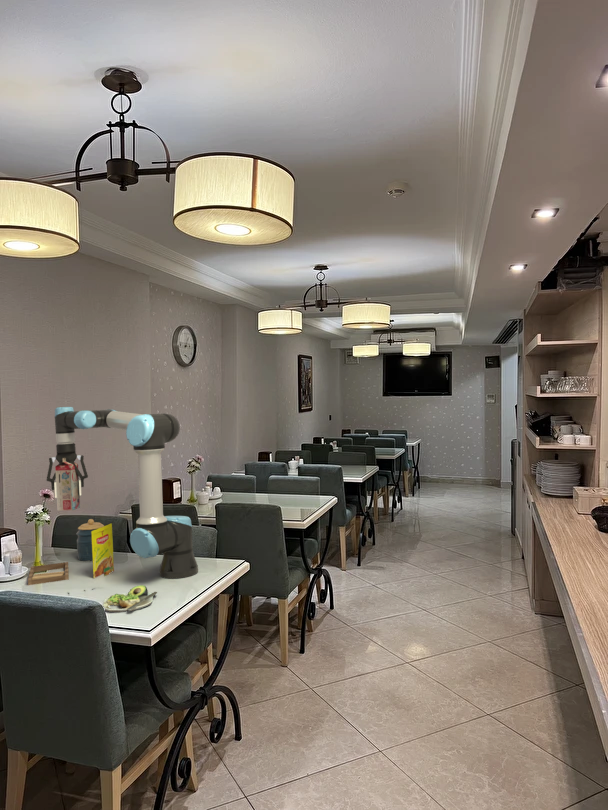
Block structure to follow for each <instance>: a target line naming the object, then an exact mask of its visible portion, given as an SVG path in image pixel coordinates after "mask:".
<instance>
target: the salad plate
mask: <svg viewBox="0 0 608 810" xmlns="http://www.w3.org/2000/svg"><path fill="white" fill-rule="evenodd" d="M157 594H158V591H153V592H151V591H149V590H148V587H147V586H146V585H143V584H141V585H137V586H134V587H132V588H131V589H129V590H128V592H126V593H115V594H113V595H109V596H107V597H106V598H105V599H104V600H103V603H102V607H103V606H104V608H105V611H106V612H108V611H109V613H124V612H126V611H127V612H134V611H136V610H140V609H143V608H146V607H148V606H151V604H152V602H153V598H154V597H155V596H156V595H157ZM109 605H110V606H111V605H114V607H121V608H111V607H110V608H109V607H108V606H109Z"/></svg>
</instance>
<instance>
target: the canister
mask: <svg viewBox="0 0 608 810" xmlns="http://www.w3.org/2000/svg"><path fill="white" fill-rule="evenodd" d="M104 526H105V525H104V524H102V523H101V522H99V521H98V522H97V521H94V519H93V518H90V519H88V521H87V523H83V524H81V525H80V526H78V527H77V530H78V531H77V532H76V534H75V535H76V536H77V539H76V550H77V552H76V553H77V554H76V557H77V559H78V560H79V561H83V562H84V561H85V562H86V561H87V562H88V561H93V555H92V532H91V531H93V530H96V529H99V528H101V527H104Z"/></svg>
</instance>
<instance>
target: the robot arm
mask: <svg viewBox="0 0 608 810" xmlns="http://www.w3.org/2000/svg"><path fill="white" fill-rule="evenodd" d="M54 425H55V443H56V446H55V447H56V456H53V457H51V456H50V457H48V461H49V465H48V469H47V476H46V482H49V483H51V490H52V491H53V490H54V498H55V499H57V490H56V470H55V471H54V474H53V475H52V478H51V474H52V470H53V465H54V464H53V463H55V462H56V461H57V462H58V464H59V465H62V464H63V463H64V462H62V459H63V458H64V460H65V458H66V462H68V463H71V464H73V465H74V466H75V471H76V472H77V474H78V476H79V495H80V497H81V496H82V488H84V487H85V482H84V481H85V479H87V478H88V477H89V475H88V472H87V469H86V465H85V462H84V459H85V458H84V454H82V455H79V454H78V455H77V451H76V443H75V442H76V434H75V432H76V431H75V430H77V429H78V430H87V429H97V428H106V429H107V428H108V429H115V430H123V431H125V432H126V433H125V435H126V439H127V441H128V443H129V444H130V445H131V446H132V447H133V452H134V453H136V455H137V468H138V470H137V471H138V472H137V473H138V493H139V494H138V497H139V500H138V501H139V517H138V518H137V520H136V521H135V524H136V525H135V527H136V528H135V529H133V530H132V531H131V533H130V537H129V543H130V547H131V549H132V551H133V552H135V554H136V555H137V556H138V557H140V558H144V559H148V558H153V557H156V556H159V555H161V554H163V556H162V560H161V564H160V568H159V577H161V578H163V577H165V578H164V579H181V578H186V577H191V576H194V575H196V574H198V573H199V565H198V563H197V560H196V558H195V555H194V550H193V549H194V548H193V547H194V545H193V525H192V520H191V518H190V517H189V516H187V515H164V506H163V505H164V503H163V501H164V500H163V499H164V498H163V477H162V476H163V475H162V472H163V471H162V452H164V450H165V447H166V446H165V445H166V443H170V442H172V441H174V440H175V439H176V438H177V437H178V436H179V434H180V430H181V425H180V421H179V420H178V418H177V417H176V416H175V415H173V414H170V413H166V412H165V413H149V414H148V413H145V414H143V413H142V414H141V413H135V412H127V411H126V412H125V411H117V410H115V409H109V408H108V409H100V410H99V409H98V410H97V409H96V410H95V409H94V410H93V409H92V410H91V409H90V410H74V407H73V406H62V407H61V406H60V407H56V408H54ZM76 459H78V461H80V466H81V468H82V471H83V475H82V473H81V471H80V470H79V467H78V468H77V466H76V465H75V463H76V462H75V461H76ZM55 460H56V461H55ZM74 462H75V463H74ZM58 464H57V465H58ZM59 465H58V466H59Z"/></svg>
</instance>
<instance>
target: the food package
mask: <svg viewBox="0 0 608 810" xmlns="http://www.w3.org/2000/svg"><path fill="white" fill-rule="evenodd" d="M91 532H92V555H93V560H92V574H93V579H96V578H98V577H100V576H101V575H103V576H104V577H106V576H108V575H110V574H111V572H112V571H113V572H115V566H114V542H113V541H114V540H113V523H111V522H110V523H109V524H106V525H104V527H101V528H99V529H96V530H93V531H91ZM113 572H112V573H113ZM109 573H110V574H109Z"/></svg>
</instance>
